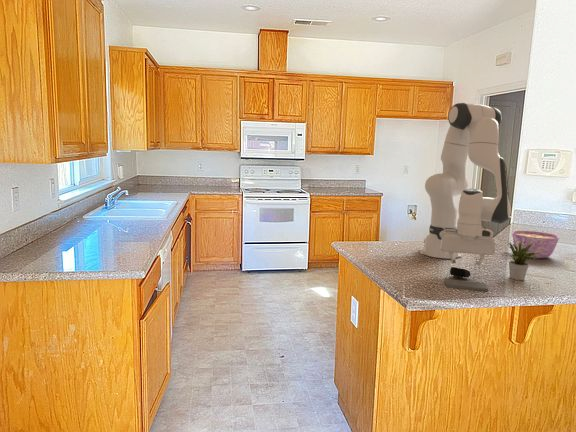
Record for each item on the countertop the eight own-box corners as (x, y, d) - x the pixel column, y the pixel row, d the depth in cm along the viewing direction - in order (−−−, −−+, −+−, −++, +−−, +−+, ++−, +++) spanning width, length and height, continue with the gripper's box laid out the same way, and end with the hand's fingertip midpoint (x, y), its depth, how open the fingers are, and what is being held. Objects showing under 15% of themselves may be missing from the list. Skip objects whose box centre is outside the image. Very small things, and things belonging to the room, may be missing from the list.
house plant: (495, 280, 167) (500, 239, 165) (492, 271, 180) (496, 233, 178) (537, 285, 163) (542, 243, 160) (530, 275, 175) (535, 236, 173)
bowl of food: (509, 258, 204) (511, 235, 203) (509, 251, 222) (512, 229, 220) (558, 265, 195) (561, 240, 193) (554, 256, 213) (557, 233, 211)
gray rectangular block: (444, 281, 164) (445, 278, 164) (484, 285, 160) (484, 282, 160) (446, 287, 157) (447, 284, 156) (488, 291, 153) (488, 288, 153)
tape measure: (464, 278, 163) (465, 268, 164) (446, 275, 168) (447, 266, 168) (470, 279, 168) (471, 270, 169) (452, 276, 173) (454, 267, 173)
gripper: (441, 229, 169) (439, 263, 171) (497, 233, 165) (494, 268, 167) (440, 227, 175) (437, 260, 177) (494, 230, 171) (490, 264, 173)
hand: (465, 263), depth 172 cm, fingers open, 8 cm apart
